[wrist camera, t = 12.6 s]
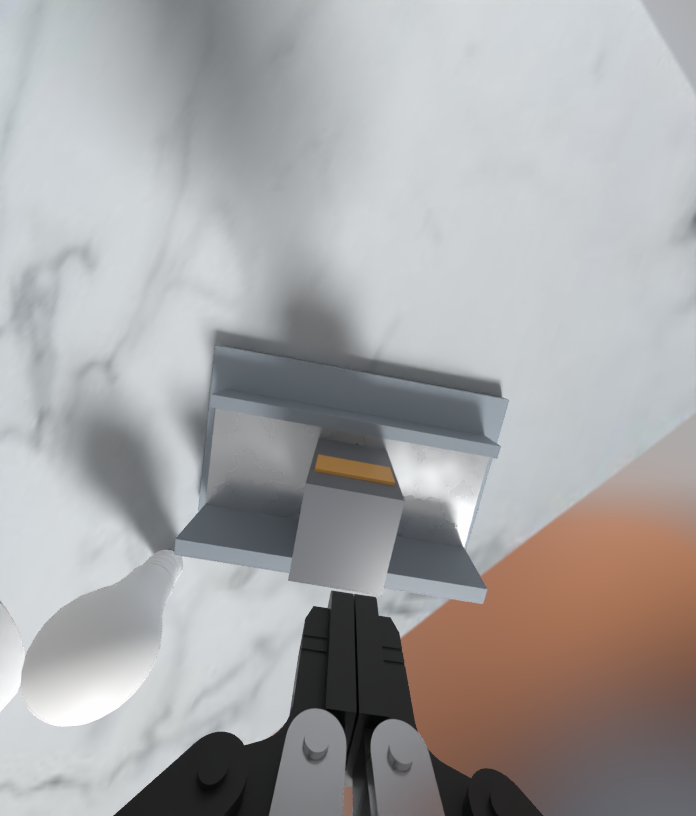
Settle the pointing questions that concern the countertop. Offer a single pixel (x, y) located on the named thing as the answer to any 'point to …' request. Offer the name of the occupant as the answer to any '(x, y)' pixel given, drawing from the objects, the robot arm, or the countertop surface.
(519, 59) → the countertop surface
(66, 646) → the lightbulb
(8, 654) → the cylinder
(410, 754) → the robot arm
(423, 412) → the grey stepped stand
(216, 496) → the plate
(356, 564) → the block
